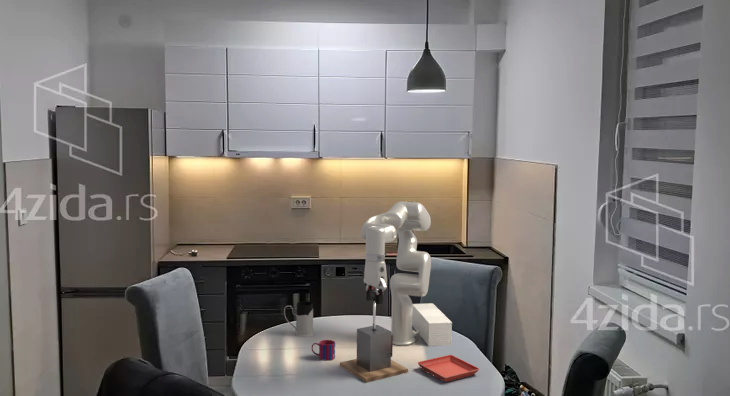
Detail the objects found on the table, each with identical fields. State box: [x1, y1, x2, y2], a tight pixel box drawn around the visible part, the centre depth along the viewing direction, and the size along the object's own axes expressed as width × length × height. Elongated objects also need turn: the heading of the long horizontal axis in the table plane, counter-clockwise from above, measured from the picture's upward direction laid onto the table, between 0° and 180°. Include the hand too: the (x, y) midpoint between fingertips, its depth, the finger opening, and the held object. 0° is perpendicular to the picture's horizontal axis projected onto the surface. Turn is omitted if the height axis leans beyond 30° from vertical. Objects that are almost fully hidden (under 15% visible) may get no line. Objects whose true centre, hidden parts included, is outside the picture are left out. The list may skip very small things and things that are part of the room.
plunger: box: [370, 290, 377, 331], centre depth 251 cm, size 8×8×21 cm
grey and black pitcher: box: [283, 300, 315, 338], centre depth 295 cm, size 9×14×15 cm, turn 89°
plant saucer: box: [417, 354, 480, 383], centre depth 251 cm, size 18×18×3 cm
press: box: [356, 324, 394, 372], centre depth 253 cm, size 13×10×15 cm
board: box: [339, 358, 409, 383], centre depth 253 cm, size 20×20×2 cm
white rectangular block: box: [412, 302, 453, 347], centre depth 298 cm, size 32×11×11 cm, turn 10°
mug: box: [311, 339, 336, 362], centre depth 266 cm, size 7×10×7 cm
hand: (374, 301), depth 250 cm, fingers open, 5 cm apart
